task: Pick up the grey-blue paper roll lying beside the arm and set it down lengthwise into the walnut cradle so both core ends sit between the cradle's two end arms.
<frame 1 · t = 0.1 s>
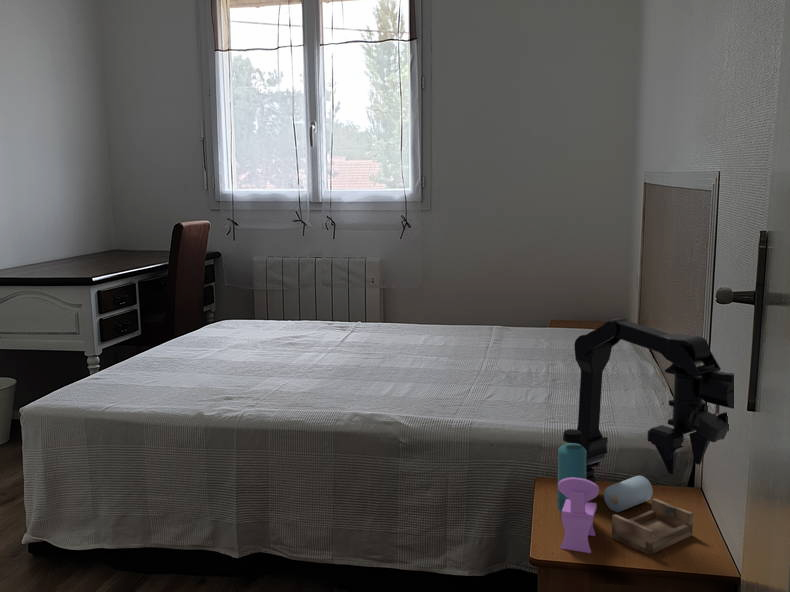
hand: (684, 468, 159), 15 cm above the table, fingers open, 9 cm apart
roll: (628, 505, 176), on the table
beverage bottle: (571, 517, 171), on the table
holder: (651, 536, 160), on the table
toy chair: (578, 542, 159), on the table
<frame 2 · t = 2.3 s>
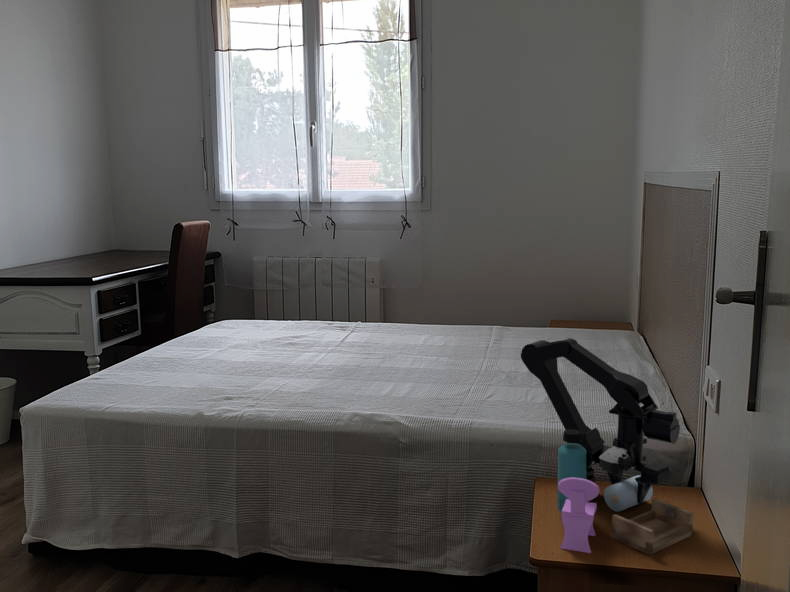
hand: (628, 498, 176), 2 cm above the table, fingers closed on roll, 6 cm apart
roll: (628, 505, 176), on the table, touching gripper
everything else where it was.
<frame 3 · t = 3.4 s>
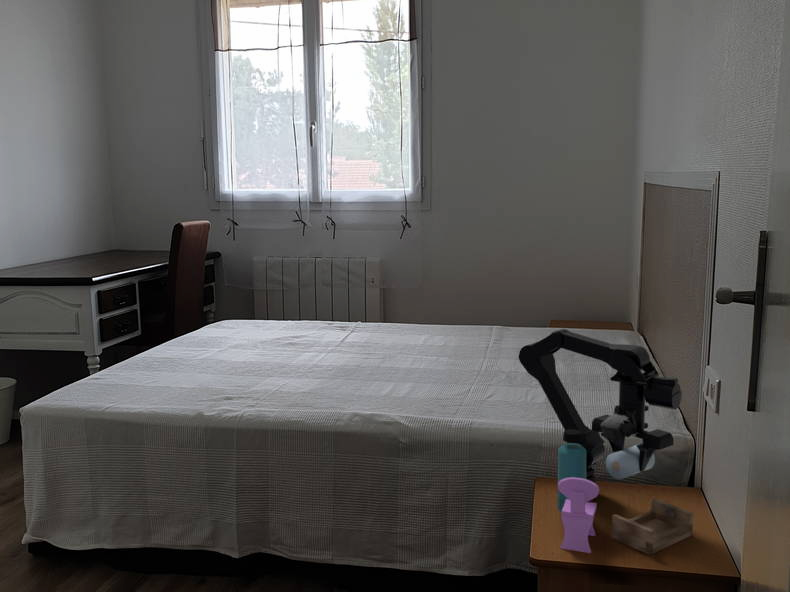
hand: (630, 467, 174), 9 cm above the table, fingers closed on roll, 6 cm apart
roll: (630, 473, 175), point 8 cm above the table, touching gripper
everything else where it was.
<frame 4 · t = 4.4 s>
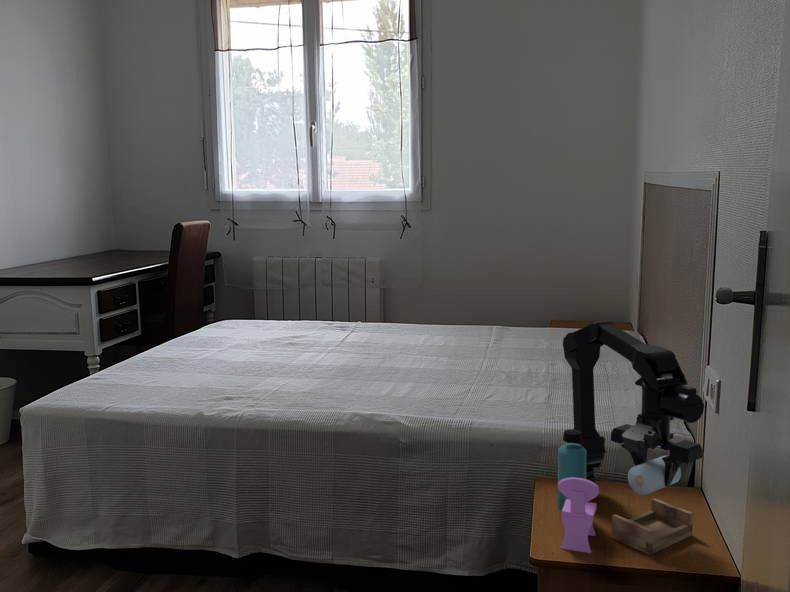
hand: (654, 481, 159), 12 cm above the table, fingers closed on roll, 6 cm apart
roll: (654, 488, 159), point 10 cm above the table, touching gripper
everything else where it was.
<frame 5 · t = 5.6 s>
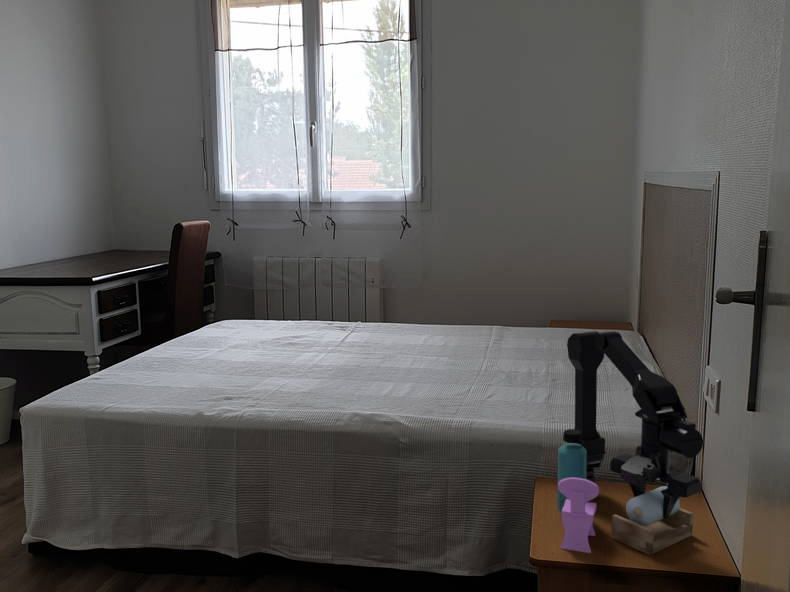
hand: (652, 512, 160), 5 cm above the table, fingers closed on roll, 6 cm apart
roll: (652, 519, 160), point 4 cm above the table, touching gripper
everything else where it was.
when the fingers open (3 cm above the table, at t = 6.4 s): roll stays where it is, resting on holder.
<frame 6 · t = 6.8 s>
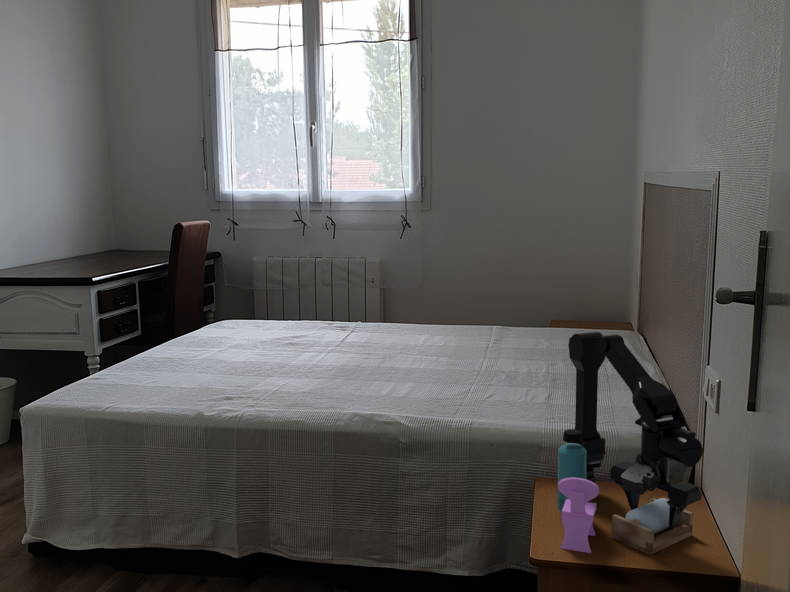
hand: (652, 520, 160), 3 cm above the table, fingers open, 9 cm apart
roll: (652, 531, 160), point 1 cm above the table, tilted 5°, touching holder
everything else where it was.
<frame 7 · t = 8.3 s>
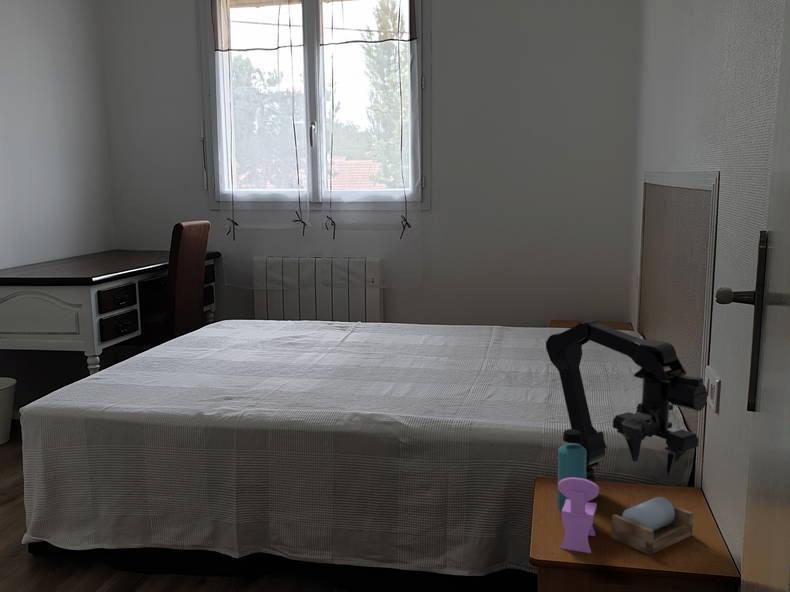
hand: (651, 467, 168), 12 cm above the table, fingers open, 9 cm apart
roll: (652, 530, 160), point 1 cm above the table, tilted 22°, touching holder
everything else where it was.
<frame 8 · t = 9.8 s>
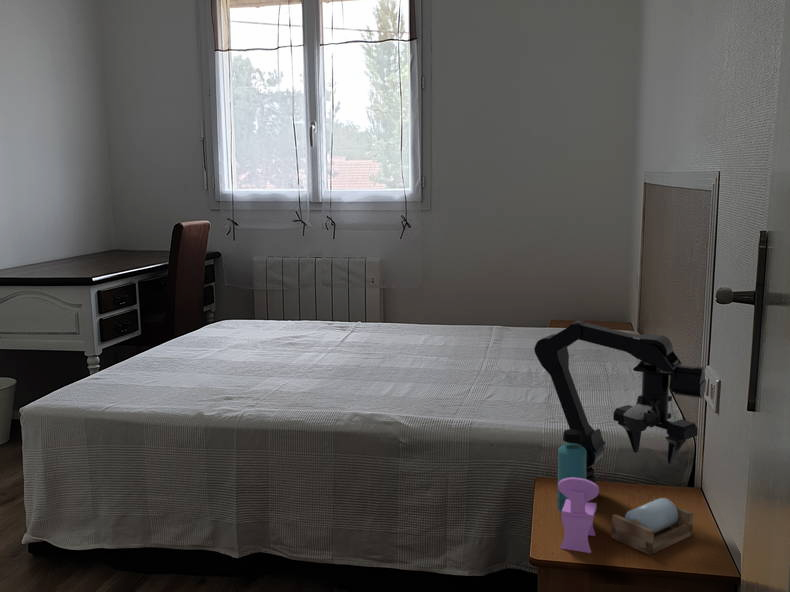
hand: (652, 457, 173), 12 cm above the table, fingers open, 9 cm apart
roll: (652, 531, 160), point 1 cm above the table, tilted 7°, touching holder
everything else where it was.
at the end: roll inside the target area on the holder (0.1 cm from its centre), point 1.0 cm above the holder's base; the gripper is holding nothing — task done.
